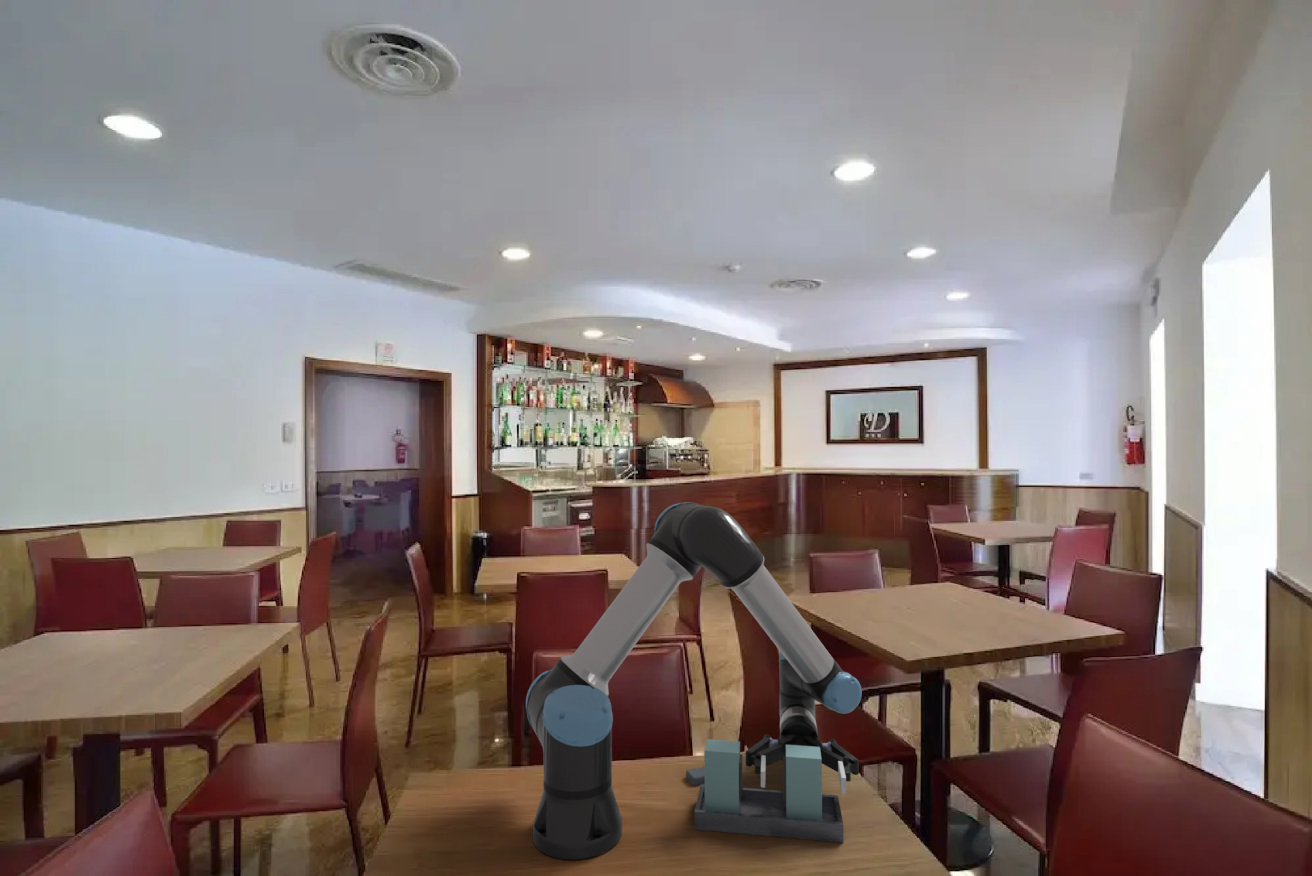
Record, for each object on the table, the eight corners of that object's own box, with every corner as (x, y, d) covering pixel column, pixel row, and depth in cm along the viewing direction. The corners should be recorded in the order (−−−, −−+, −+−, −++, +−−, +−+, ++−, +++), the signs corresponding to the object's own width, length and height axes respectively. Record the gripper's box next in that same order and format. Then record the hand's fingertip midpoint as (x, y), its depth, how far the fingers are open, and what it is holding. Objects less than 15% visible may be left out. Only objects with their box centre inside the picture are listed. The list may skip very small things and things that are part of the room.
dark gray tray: (694, 829, 118) (694, 811, 118) (700, 800, 128) (700, 784, 128) (843, 842, 114) (843, 824, 114) (838, 811, 124) (837, 795, 124)
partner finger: (704, 813, 121) (704, 750, 121) (707, 799, 125) (707, 739, 126) (741, 816, 119) (741, 753, 120) (743, 802, 124) (742, 741, 125)
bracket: (685, 779, 137) (685, 769, 137) (731, 770, 141) (731, 760, 141) (693, 788, 134) (693, 778, 134) (740, 779, 138) (740, 769, 138)
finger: (783, 820, 118) (783, 756, 119) (783, 805, 123) (782, 744, 123) (822, 823, 117) (821, 759, 117) (820, 809, 122) (819, 746, 122)
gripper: (862, 756, 136) (878, 811, 115) (736, 747, 140) (730, 798, 119) (862, 718, 136) (878, 766, 115) (736, 710, 140) (730, 755, 119)
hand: (803, 782), depth 117 cm, fingers open, 13 cm apart
